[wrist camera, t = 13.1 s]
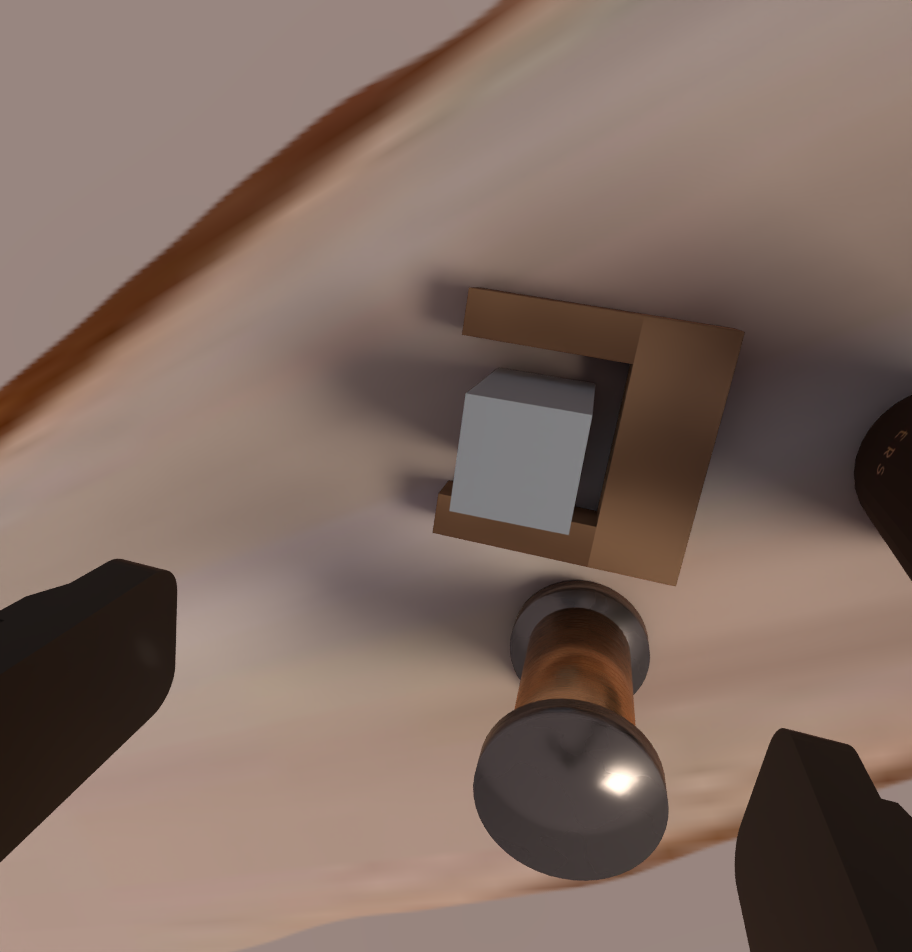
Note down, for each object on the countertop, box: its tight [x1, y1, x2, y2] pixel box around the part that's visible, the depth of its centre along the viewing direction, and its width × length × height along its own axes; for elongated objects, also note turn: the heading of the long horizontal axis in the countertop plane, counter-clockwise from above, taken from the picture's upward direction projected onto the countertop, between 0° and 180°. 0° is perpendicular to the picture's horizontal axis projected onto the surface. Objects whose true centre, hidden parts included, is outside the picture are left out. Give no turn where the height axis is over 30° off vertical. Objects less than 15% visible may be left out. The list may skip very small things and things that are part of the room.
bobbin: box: [473, 581, 668, 881], centre depth 26 cm, size 6×6×10 cm
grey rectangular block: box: [449, 368, 595, 535], centre depth 25 cm, size 4×4×7 cm
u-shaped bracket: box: [433, 287, 745, 586], centre depth 27 cm, size 10×10×2 cm
